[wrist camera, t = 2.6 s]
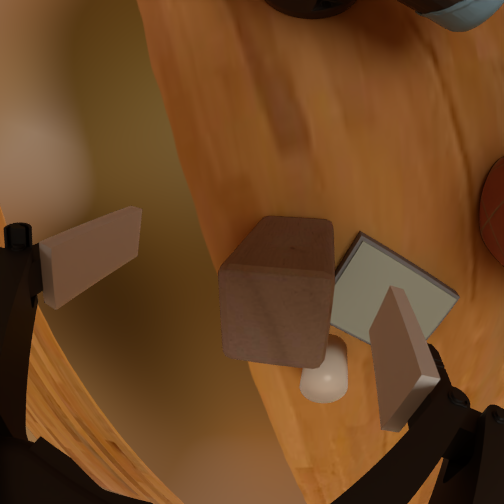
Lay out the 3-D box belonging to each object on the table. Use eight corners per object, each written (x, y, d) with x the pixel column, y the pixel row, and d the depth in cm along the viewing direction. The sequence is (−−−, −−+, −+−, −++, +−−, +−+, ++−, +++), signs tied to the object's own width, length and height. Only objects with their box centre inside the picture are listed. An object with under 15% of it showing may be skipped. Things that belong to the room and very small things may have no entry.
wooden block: (333, 218, 42) (336, 277, 24) (328, 284, 45) (322, 374, 27) (262, 214, 44) (213, 266, 26) (262, 278, 47) (220, 360, 29)
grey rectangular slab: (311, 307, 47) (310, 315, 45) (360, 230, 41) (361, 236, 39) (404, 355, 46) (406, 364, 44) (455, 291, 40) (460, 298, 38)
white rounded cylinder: (298, 355, 51) (291, 391, 43) (319, 327, 48) (316, 362, 40) (332, 372, 50) (329, 408, 42) (355, 345, 48) (357, 381, 39)
